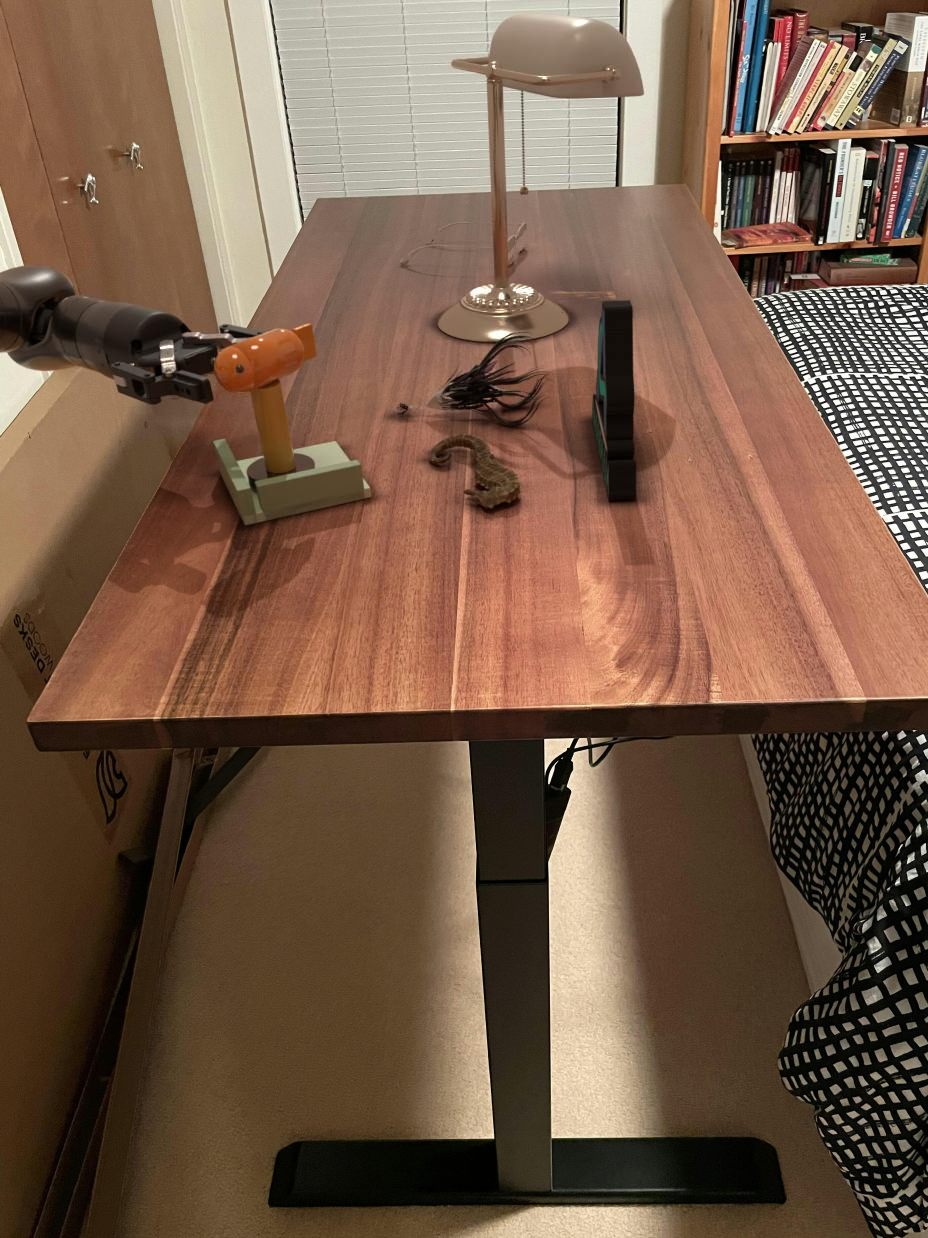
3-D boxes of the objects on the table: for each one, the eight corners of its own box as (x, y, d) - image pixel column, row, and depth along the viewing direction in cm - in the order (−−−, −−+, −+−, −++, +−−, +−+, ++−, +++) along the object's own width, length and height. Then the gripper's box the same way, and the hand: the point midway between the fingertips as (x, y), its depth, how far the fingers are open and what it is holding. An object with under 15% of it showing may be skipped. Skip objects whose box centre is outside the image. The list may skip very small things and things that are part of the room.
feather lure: (559, 422, 100) (538, 343, 95) (399, 458, 105) (371, 385, 100) (565, 391, 107) (546, 315, 102) (414, 426, 112) (389, 356, 107)
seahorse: (474, 441, 99) (471, 424, 98) (535, 502, 89) (533, 483, 88) (424, 457, 98) (421, 439, 97) (480, 520, 87) (477, 502, 86)
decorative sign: (635, 501, 89) (644, 336, 79) (608, 502, 89) (614, 337, 79) (614, 419, 104) (619, 272, 94) (591, 420, 104) (594, 273, 94)
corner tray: (245, 525, 87) (237, 490, 85) (220, 473, 96) (212, 440, 94) (371, 497, 91) (367, 462, 89) (337, 449, 100) (332, 417, 98)
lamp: (651, 328, 127) (669, 15, 106) (482, 361, 119) (466, 31, 98) (558, 279, 146) (557, 6, 125) (407, 305, 138) (380, 19, 117)
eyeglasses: (507, 270, 151) (506, 243, 148) (397, 266, 155) (394, 240, 152) (528, 245, 163) (528, 219, 160) (426, 242, 166) (424, 217, 164)
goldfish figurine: (307, 449, 98) (284, 312, 89) (354, 464, 95) (334, 323, 86) (223, 492, 91) (189, 347, 82) (270, 509, 88) (240, 360, 79)
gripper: (201, 362, 101) (310, 392, 94) (83, 406, 93) (192, 443, 85) (184, 287, 97) (297, 312, 89) (58, 326, 88) (171, 358, 80)
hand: (246, 376), depth 87 cm, fingers open, 8 cm apart
